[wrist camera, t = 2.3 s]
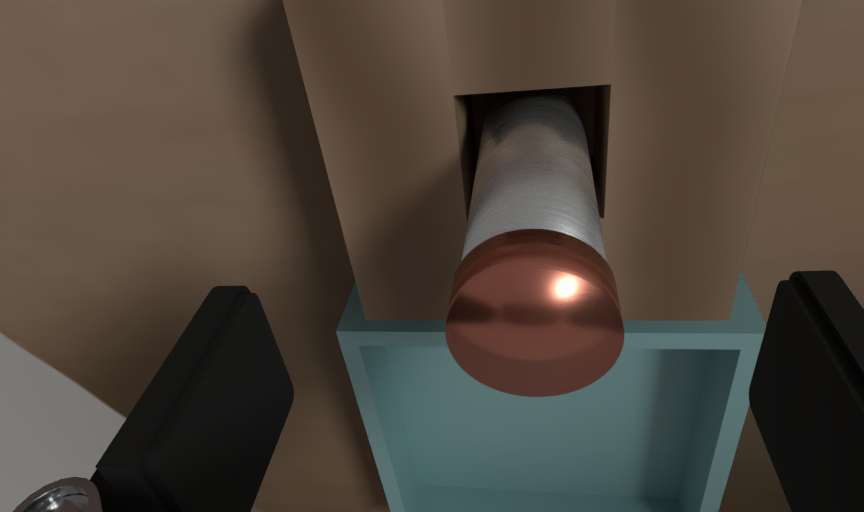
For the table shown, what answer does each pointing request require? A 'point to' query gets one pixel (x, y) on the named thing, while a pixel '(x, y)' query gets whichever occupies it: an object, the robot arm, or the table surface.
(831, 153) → the table surface
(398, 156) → the block
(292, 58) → the table surface
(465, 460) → the tray
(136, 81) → the table surface
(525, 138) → the pin
